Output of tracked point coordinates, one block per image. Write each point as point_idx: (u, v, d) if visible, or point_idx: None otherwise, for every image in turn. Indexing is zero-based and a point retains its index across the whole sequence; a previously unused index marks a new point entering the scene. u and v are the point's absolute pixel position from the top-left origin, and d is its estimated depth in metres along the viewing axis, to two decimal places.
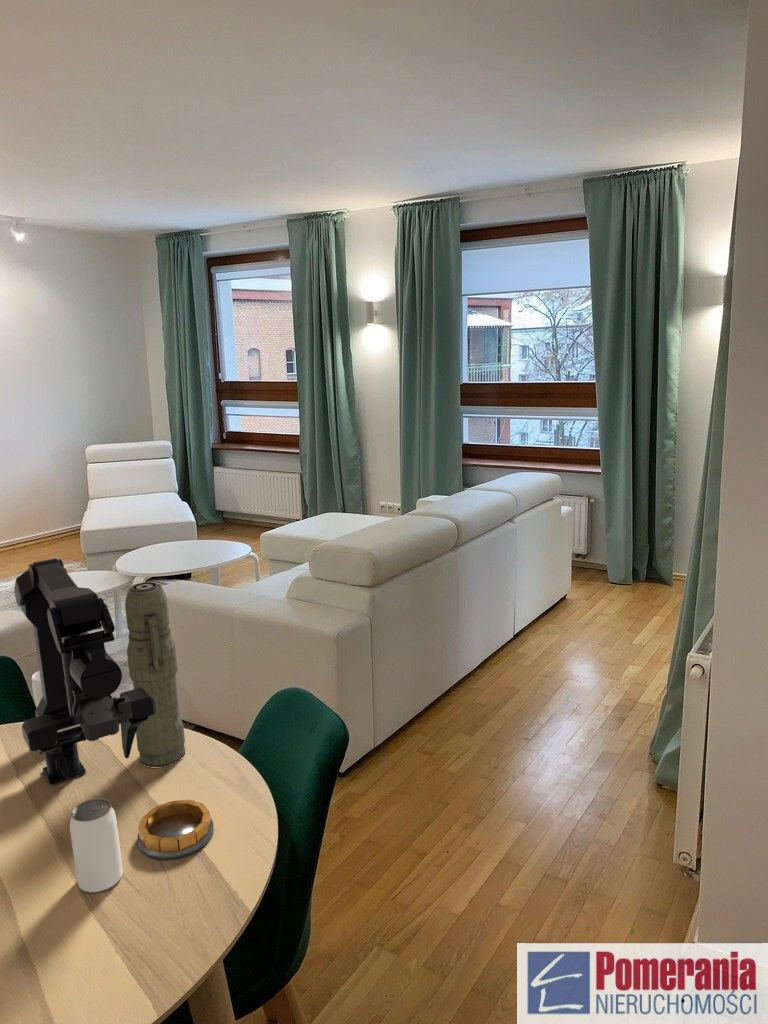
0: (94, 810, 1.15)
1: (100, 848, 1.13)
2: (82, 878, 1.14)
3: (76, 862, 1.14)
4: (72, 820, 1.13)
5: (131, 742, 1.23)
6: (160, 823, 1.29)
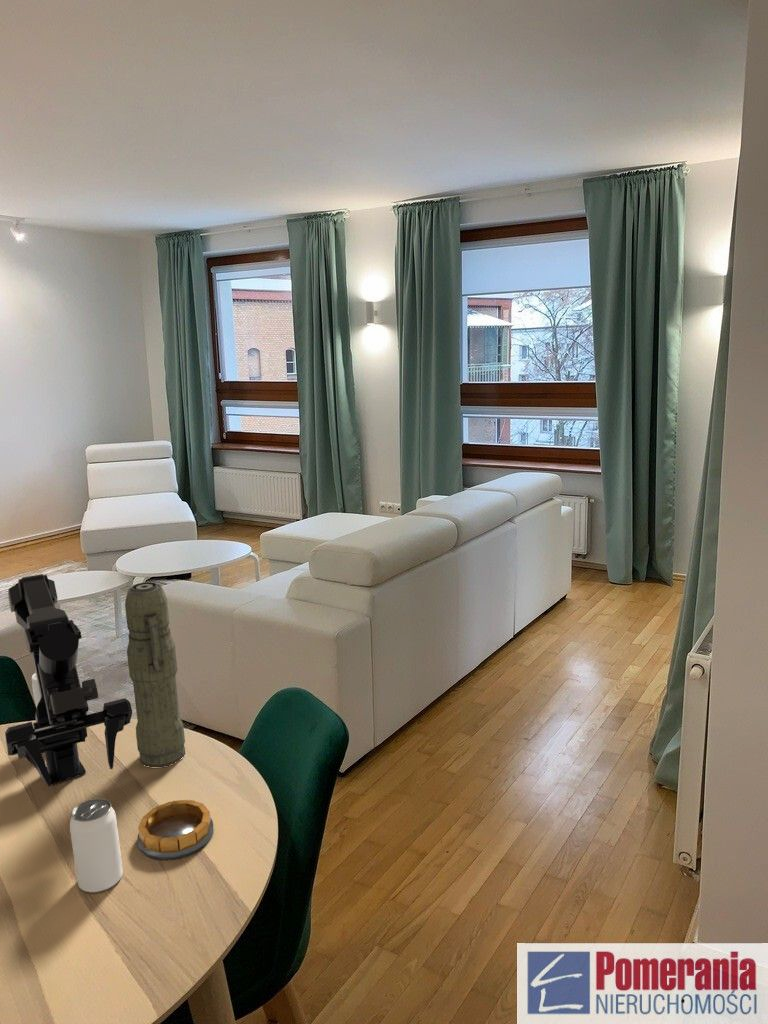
0: (94, 810, 1.15)
1: (100, 848, 1.13)
2: (82, 878, 1.14)
3: (76, 862, 1.14)
4: (72, 820, 1.13)
5: (113, 747, 1.24)
6: (160, 823, 1.29)
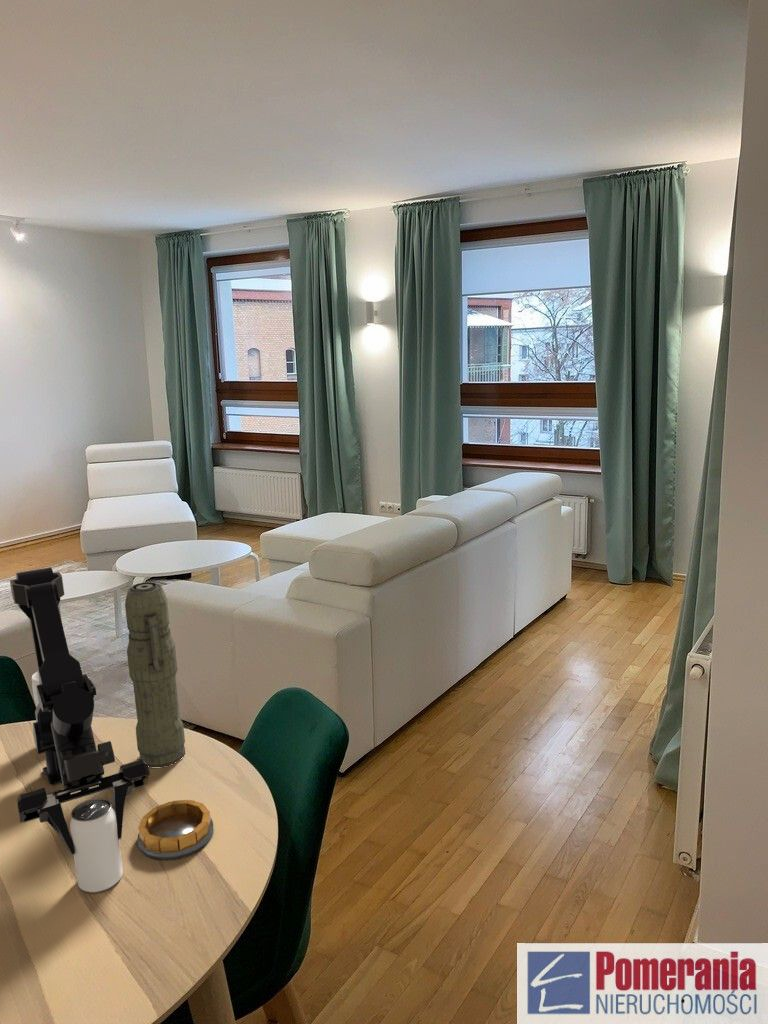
0: (94, 810, 1.15)
1: (100, 848, 1.13)
2: (82, 878, 1.14)
3: (76, 862, 1.14)
4: (72, 820, 1.13)
5: (121, 816, 1.17)
6: (160, 823, 1.29)
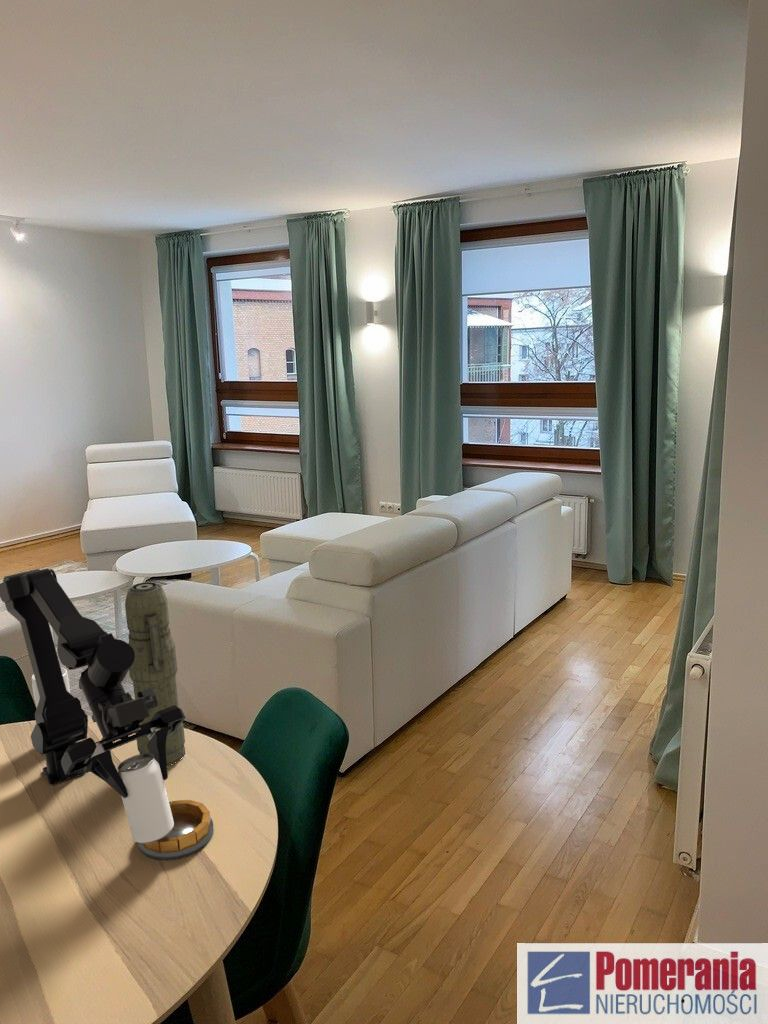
0: (138, 762, 1.20)
1: (152, 794, 1.18)
2: (138, 830, 1.18)
3: (130, 815, 1.18)
4: (120, 774, 1.18)
5: (165, 758, 1.22)
6: None
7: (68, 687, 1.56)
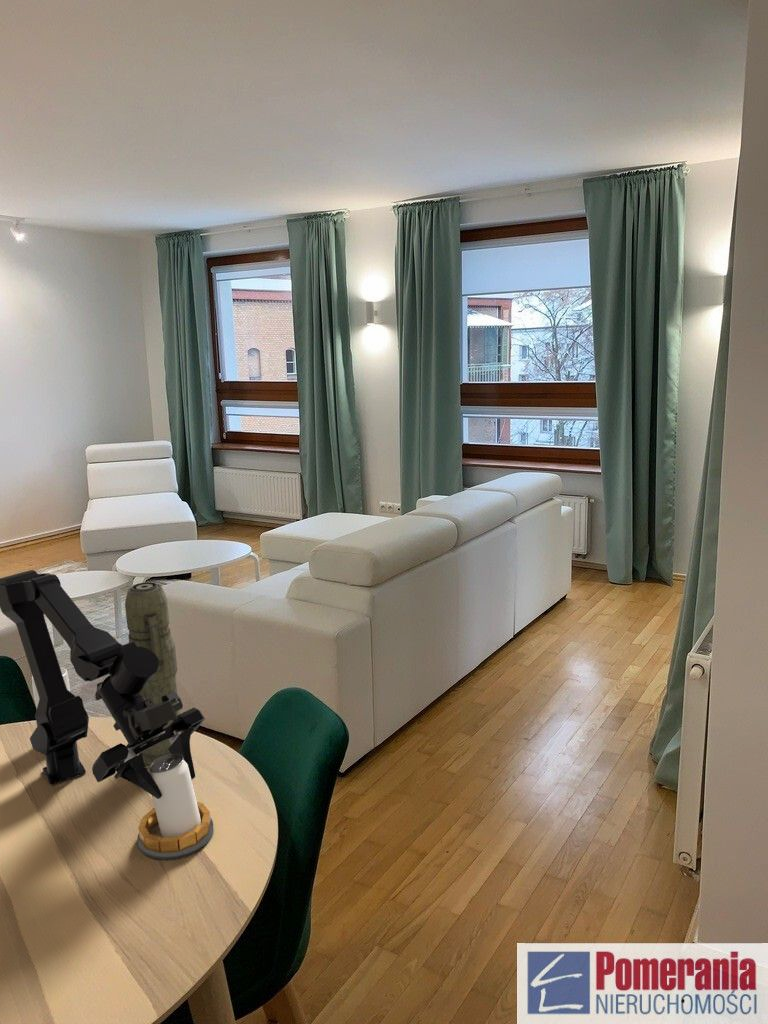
0: (167, 763, 1.25)
1: (184, 793, 1.23)
2: (170, 827, 1.23)
3: (162, 814, 1.23)
4: (152, 775, 1.22)
5: (190, 758, 1.27)
6: None
7: (68, 687, 1.56)
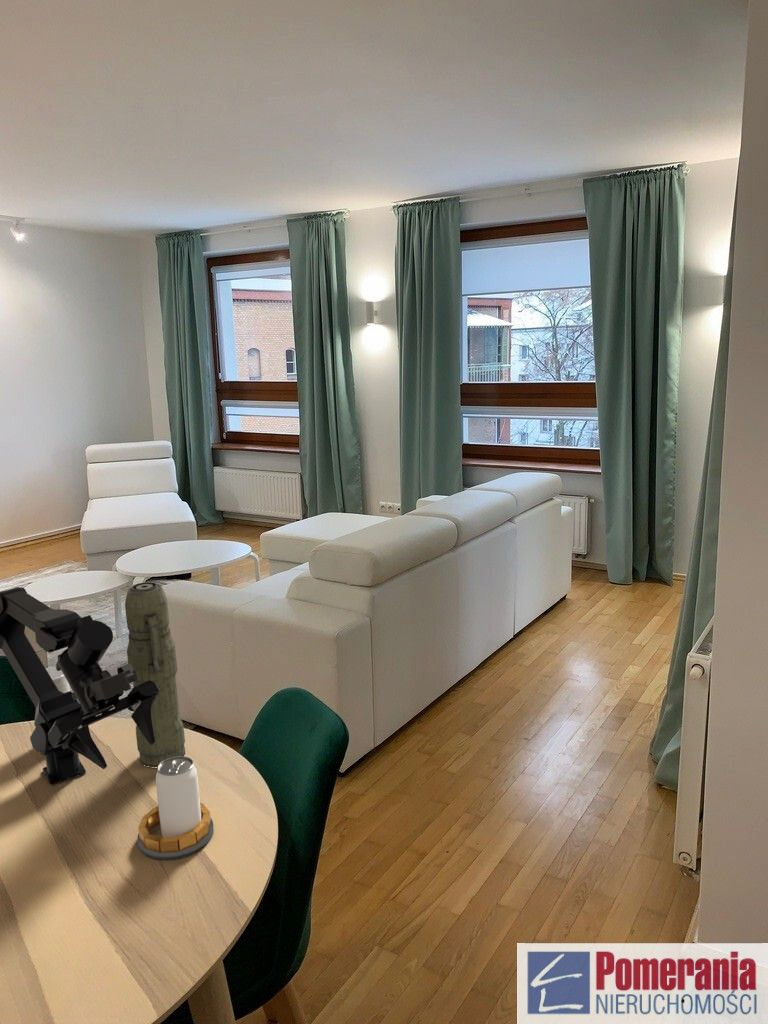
0: (177, 765, 1.24)
1: (191, 798, 1.23)
2: (173, 830, 1.23)
3: (166, 816, 1.23)
4: (161, 777, 1.22)
5: (151, 725, 1.34)
6: None
7: (68, 687, 1.56)
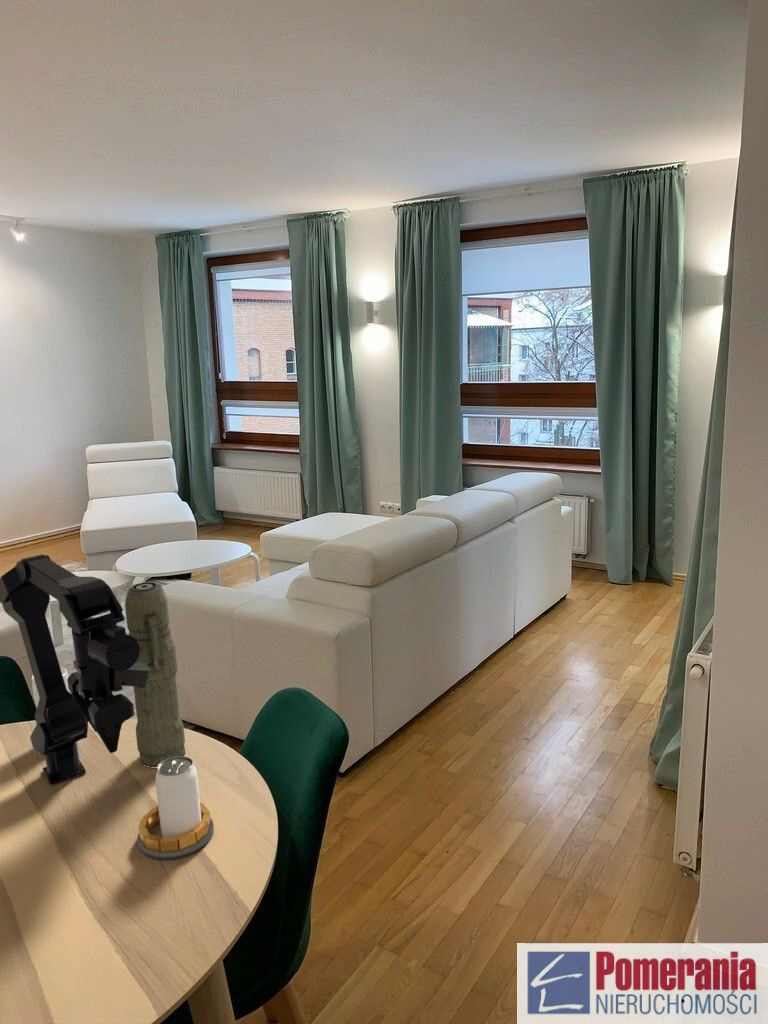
0: (176, 766, 1.24)
1: (190, 798, 1.23)
2: (173, 830, 1.23)
3: (166, 816, 1.23)
4: (161, 777, 1.22)
5: None
6: None
7: None
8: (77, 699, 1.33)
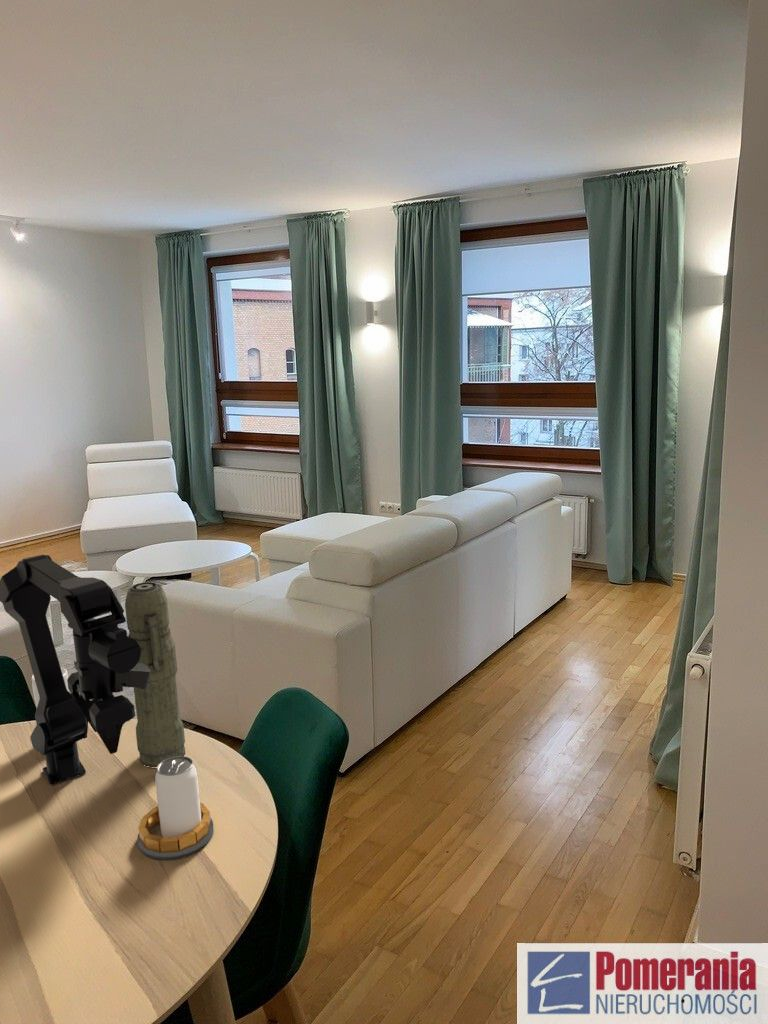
0: (176, 765, 1.24)
1: (190, 797, 1.23)
2: (173, 830, 1.23)
3: (166, 816, 1.23)
4: (161, 777, 1.22)
5: None
6: None
7: None
8: (77, 699, 1.33)
